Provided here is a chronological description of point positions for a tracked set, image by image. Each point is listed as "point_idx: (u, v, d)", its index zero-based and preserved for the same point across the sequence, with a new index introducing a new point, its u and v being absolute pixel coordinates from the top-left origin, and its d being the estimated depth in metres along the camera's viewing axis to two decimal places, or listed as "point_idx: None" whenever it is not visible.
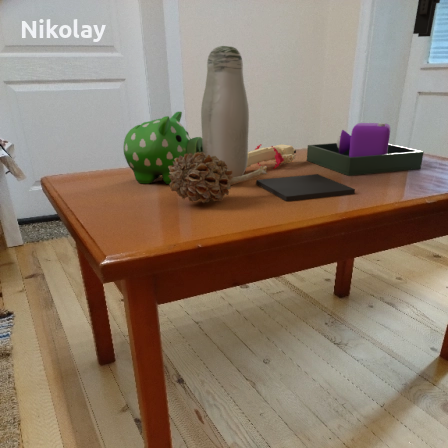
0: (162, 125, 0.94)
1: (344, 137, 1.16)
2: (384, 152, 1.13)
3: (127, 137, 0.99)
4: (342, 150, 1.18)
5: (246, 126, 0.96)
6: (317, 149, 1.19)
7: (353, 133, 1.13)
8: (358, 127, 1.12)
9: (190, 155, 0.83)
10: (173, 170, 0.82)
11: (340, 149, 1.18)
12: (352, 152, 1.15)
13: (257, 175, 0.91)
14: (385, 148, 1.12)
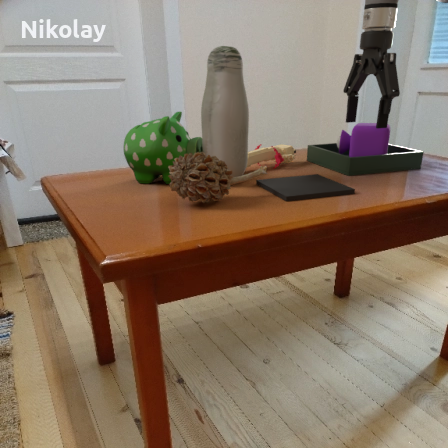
0: (162, 125, 0.94)
1: (344, 137, 1.16)
2: (384, 152, 1.13)
3: (127, 137, 0.99)
4: (342, 150, 1.18)
5: (246, 126, 0.96)
6: (317, 149, 1.19)
7: (353, 133, 1.13)
8: (358, 127, 1.12)
9: (190, 155, 0.83)
10: (173, 170, 0.82)
11: (340, 149, 1.18)
12: (352, 152, 1.15)
13: (257, 175, 0.91)
14: (385, 148, 1.12)
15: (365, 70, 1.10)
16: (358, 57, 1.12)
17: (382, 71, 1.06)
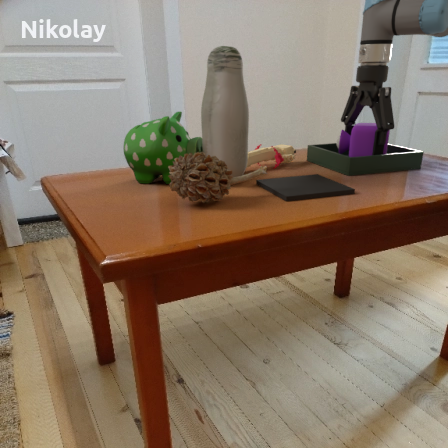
0: (162, 125, 0.94)
1: (344, 137, 1.17)
2: (384, 152, 1.13)
3: (127, 137, 0.99)
4: (342, 150, 1.18)
5: (246, 126, 0.96)
6: (317, 149, 1.19)
7: (353, 133, 1.13)
8: (358, 127, 1.13)
9: (190, 155, 0.83)
10: (173, 170, 0.82)
11: (340, 149, 1.18)
12: (352, 152, 1.15)
13: (257, 175, 0.91)
14: (385, 148, 1.13)
15: (361, 101, 1.13)
16: (354, 89, 1.16)
17: (378, 104, 1.09)
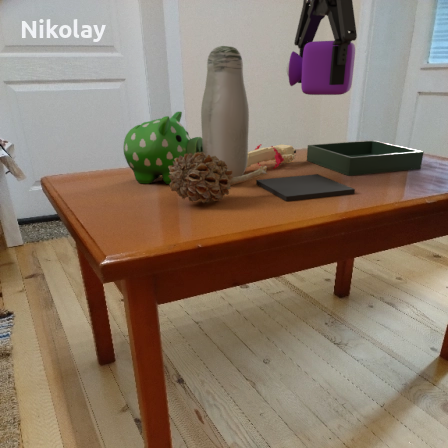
0: (162, 125, 0.94)
1: (295, 60, 0.89)
2: (345, 76, 0.85)
3: (127, 137, 0.99)
4: (293, 78, 0.90)
5: (246, 126, 0.96)
6: (317, 149, 1.19)
7: (305, 52, 0.85)
8: (311, 43, 0.85)
9: (190, 155, 0.83)
10: (173, 170, 0.82)
11: (290, 77, 0.90)
12: (304, 79, 0.87)
13: (257, 175, 0.91)
14: (347, 71, 0.85)
15: (316, 10, 0.85)
16: None
17: (336, 8, 0.81)
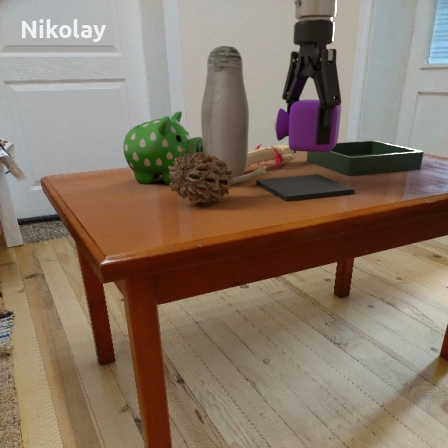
0: (162, 125, 0.94)
1: (282, 118, 0.91)
2: (331, 136, 0.87)
3: (127, 137, 0.99)
4: (280, 134, 0.92)
5: (246, 126, 0.96)
6: None
7: (291, 112, 0.87)
8: (297, 104, 0.87)
9: (190, 155, 0.83)
10: (173, 170, 0.82)
11: (277, 134, 0.92)
12: (291, 137, 0.89)
13: (257, 175, 0.91)
14: (332, 131, 0.87)
15: (302, 71, 0.87)
16: (295, 55, 0.90)
17: (321, 72, 0.83)
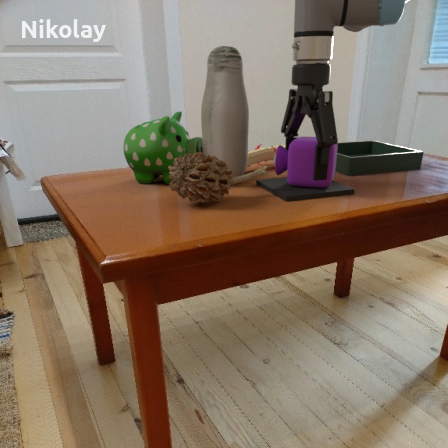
0: (162, 125, 0.94)
1: (281, 154, 0.94)
2: (328, 174, 0.91)
3: (127, 137, 0.99)
4: (279, 170, 0.96)
5: (246, 126, 0.96)
6: None
7: (290, 150, 0.91)
8: (296, 143, 0.90)
9: (190, 155, 0.83)
10: (173, 170, 0.82)
11: (276, 169, 0.95)
12: (290, 173, 0.93)
13: (257, 175, 0.91)
14: (329, 169, 0.90)
15: (300, 109, 0.91)
16: (293, 93, 0.93)
17: (318, 112, 0.87)
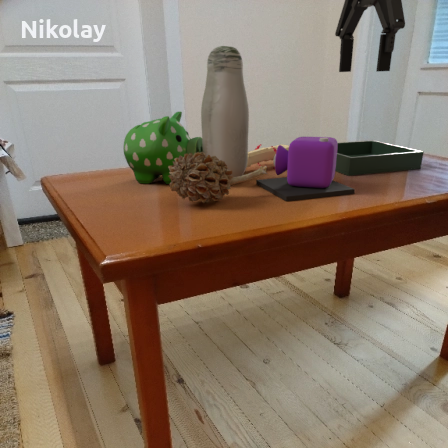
0: (162, 125, 0.94)
1: (281, 154, 0.94)
2: (328, 174, 0.91)
3: (127, 137, 0.99)
4: (279, 170, 0.96)
5: (246, 126, 0.96)
6: None
7: (290, 150, 0.91)
8: (296, 143, 0.90)
9: (190, 155, 0.83)
10: (173, 170, 0.82)
11: (276, 169, 0.95)
12: (290, 173, 0.93)
13: (257, 175, 0.91)
14: (329, 169, 0.90)
15: (361, 2, 0.90)
16: None
17: None
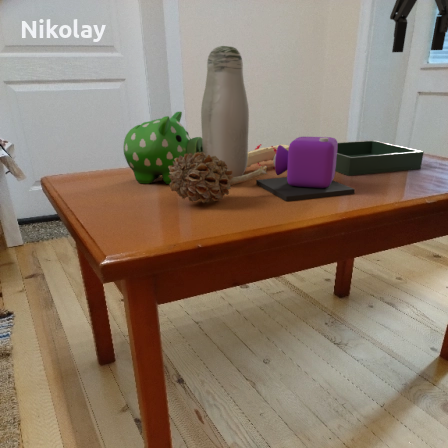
0: (162, 125, 0.94)
1: (281, 154, 0.94)
2: (328, 174, 0.91)
3: (127, 137, 0.99)
4: (279, 170, 0.96)
5: (246, 126, 0.96)
6: None
7: (290, 150, 0.91)
8: (296, 143, 0.90)
9: (190, 155, 0.83)
10: (173, 170, 0.82)
11: (276, 169, 0.95)
12: (290, 173, 0.93)
13: (257, 175, 0.91)
14: (329, 169, 0.90)
15: None
16: None
17: None
